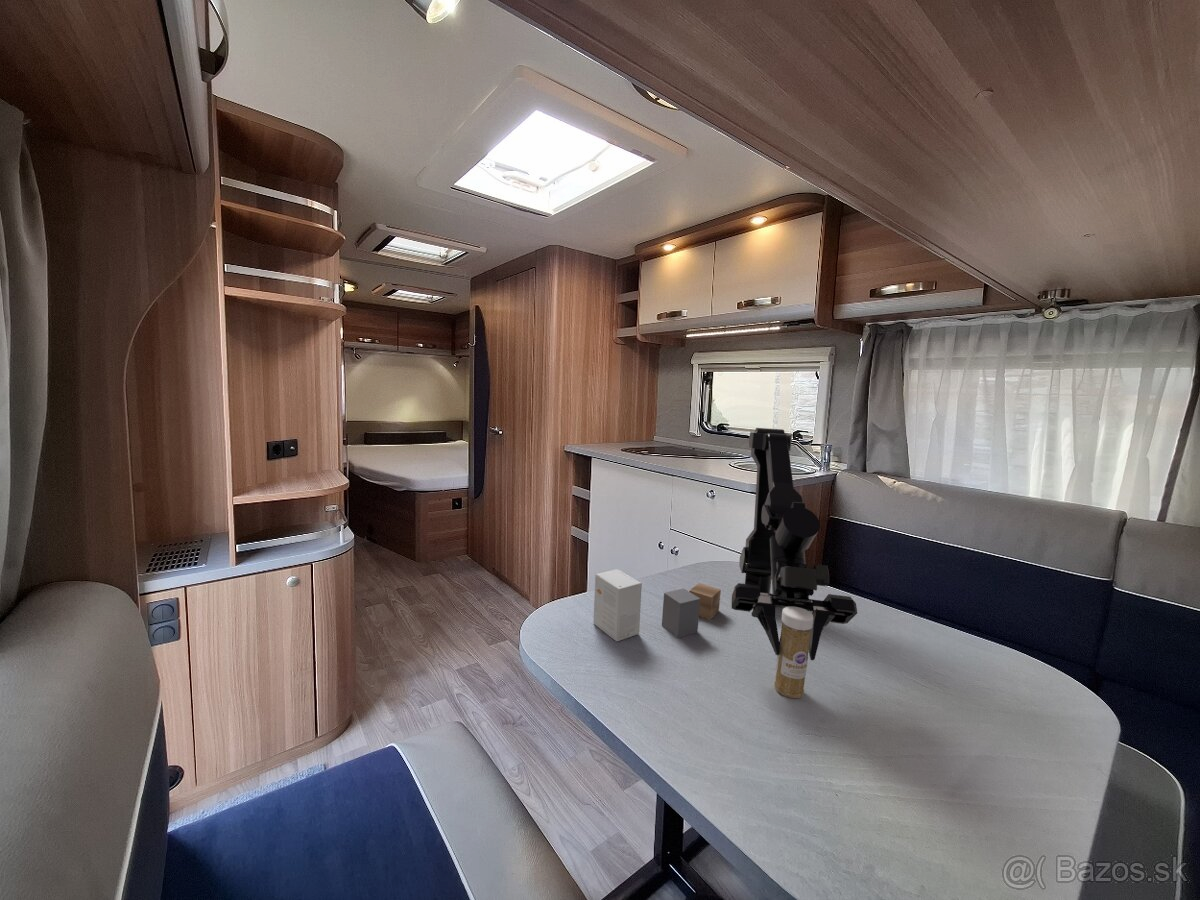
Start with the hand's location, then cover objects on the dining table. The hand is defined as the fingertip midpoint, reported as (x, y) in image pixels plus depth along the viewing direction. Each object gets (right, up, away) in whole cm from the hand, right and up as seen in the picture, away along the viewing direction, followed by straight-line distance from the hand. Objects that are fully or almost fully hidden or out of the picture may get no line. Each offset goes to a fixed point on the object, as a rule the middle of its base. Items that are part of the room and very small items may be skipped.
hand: (795, 657), depth 73 cm
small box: (-27, -3, +18) cm, 33 cm away
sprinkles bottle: (0, -7, +2) cm, 7 cm away
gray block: (-15, -3, +20) cm, 25 cm away
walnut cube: (-8, -2, +27) cm, 29 cm away
